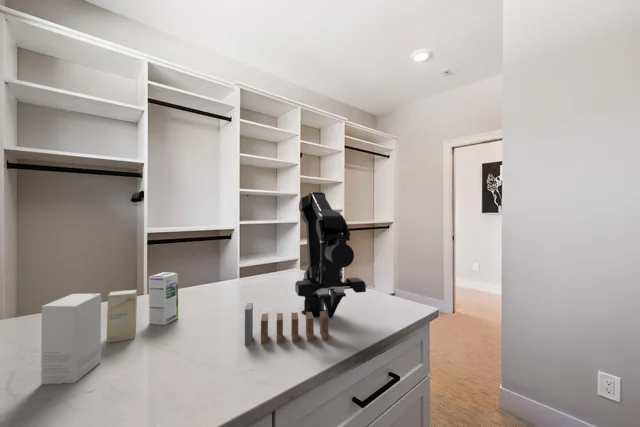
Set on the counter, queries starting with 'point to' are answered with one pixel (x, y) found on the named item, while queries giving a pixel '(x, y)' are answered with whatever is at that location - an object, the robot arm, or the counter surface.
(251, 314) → the grey domino
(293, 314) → the domino
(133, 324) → the skincare box
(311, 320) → the domino
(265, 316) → the domino
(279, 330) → the domino
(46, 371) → the skincare box
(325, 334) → the domino
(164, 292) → the syrup box
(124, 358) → the counter surface
